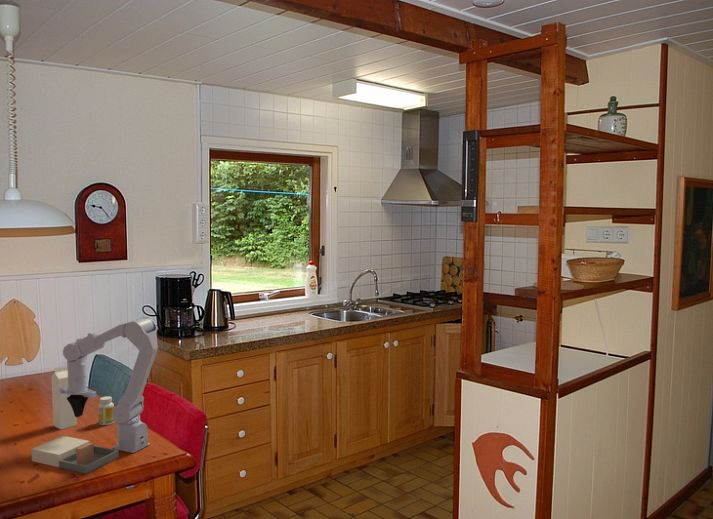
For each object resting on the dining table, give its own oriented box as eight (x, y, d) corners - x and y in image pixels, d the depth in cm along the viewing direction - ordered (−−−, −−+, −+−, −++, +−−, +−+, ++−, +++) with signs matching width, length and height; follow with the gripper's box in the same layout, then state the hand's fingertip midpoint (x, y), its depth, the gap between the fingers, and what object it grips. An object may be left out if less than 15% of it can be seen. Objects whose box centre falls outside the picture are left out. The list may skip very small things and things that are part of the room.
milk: (77, 425, 224) (75, 367, 222) (60, 430, 219) (58, 370, 217) (69, 421, 227) (67, 364, 225) (52, 425, 223) (50, 367, 221)
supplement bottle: (96, 425, 223) (95, 400, 222) (101, 420, 228) (100, 395, 227) (111, 425, 223) (111, 400, 223) (116, 420, 229) (115, 395, 228)
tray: (118, 457, 195) (118, 450, 194) (86, 474, 183) (85, 466, 182) (92, 452, 199) (92, 445, 199) (59, 468, 187) (58, 460, 187)
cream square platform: (90, 452, 199) (89, 441, 198) (59, 467, 188) (59, 454, 187) (63, 447, 203) (62, 435, 203) (32, 461, 192) (31, 448, 192)
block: (89, 457, 194) (94, 458, 193) (76, 463, 189) (81, 464, 188) (88, 442, 193) (93, 443, 193) (75, 448, 189) (80, 449, 188)
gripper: (51, 377, 204) (53, 416, 205) (83, 382, 198) (85, 422, 200) (68, 372, 211) (70, 410, 212) (100, 377, 205) (101, 416, 206)
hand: (78, 416), depth 206 cm, fingers closed
